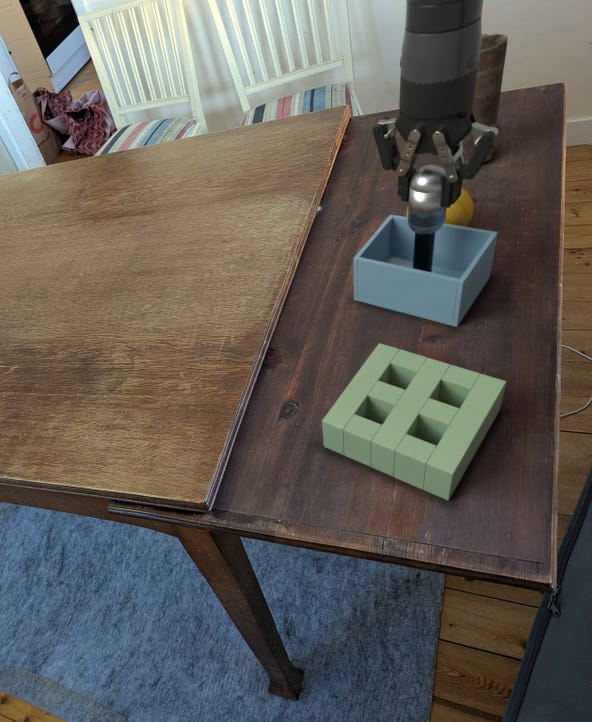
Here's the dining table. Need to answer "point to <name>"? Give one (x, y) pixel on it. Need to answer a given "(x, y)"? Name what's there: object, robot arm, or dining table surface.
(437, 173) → the microphone
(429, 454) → the rack
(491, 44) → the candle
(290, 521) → the dining table surface
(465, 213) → the fruit
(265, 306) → the dining table surface
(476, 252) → the tub
